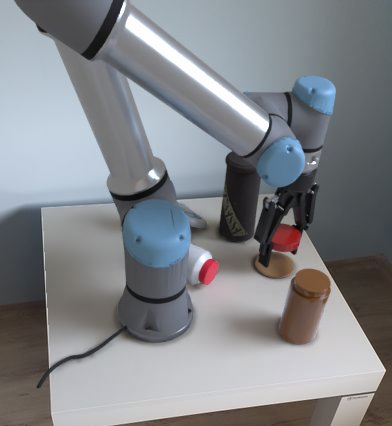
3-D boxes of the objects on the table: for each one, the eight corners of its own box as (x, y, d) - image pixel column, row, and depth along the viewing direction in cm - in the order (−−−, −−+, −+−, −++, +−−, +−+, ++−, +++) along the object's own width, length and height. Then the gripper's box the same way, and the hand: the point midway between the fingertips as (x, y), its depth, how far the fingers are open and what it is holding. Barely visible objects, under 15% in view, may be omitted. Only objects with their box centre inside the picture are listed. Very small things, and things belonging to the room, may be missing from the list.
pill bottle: (173, 267, 120) (213, 287, 116) (155, 270, 113) (197, 292, 109) (184, 235, 117) (225, 255, 113) (166, 236, 110) (209, 257, 106)
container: (213, 225, 130) (220, 147, 115) (246, 220, 132) (257, 143, 117) (225, 245, 124) (234, 166, 109) (260, 239, 126) (273, 162, 112)
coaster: (273, 283, 116) (273, 281, 116) (247, 261, 121) (247, 259, 120) (302, 270, 120) (302, 268, 120) (276, 249, 125) (276, 247, 124)
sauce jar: (296, 349, 104) (312, 299, 93) (270, 326, 107) (283, 275, 97) (323, 334, 107) (341, 284, 97) (297, 312, 111) (312, 261, 101)
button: (211, 224, 128) (190, 220, 119) (208, 230, 129) (187, 226, 120) (183, 202, 131) (161, 196, 123) (179, 207, 132) (157, 202, 123)
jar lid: (306, 247, 115) (308, 239, 113) (276, 256, 112) (277, 248, 110) (286, 226, 119) (287, 219, 118) (256, 235, 116) (257, 228, 115)
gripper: (271, 188, 95) (253, 283, 112) (348, 159, 104) (321, 251, 121) (245, 169, 99) (231, 264, 116) (322, 143, 108) (298, 234, 125)
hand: (277, 257), depth 119 cm, fingers closed on jar lid, 8 cm apart
